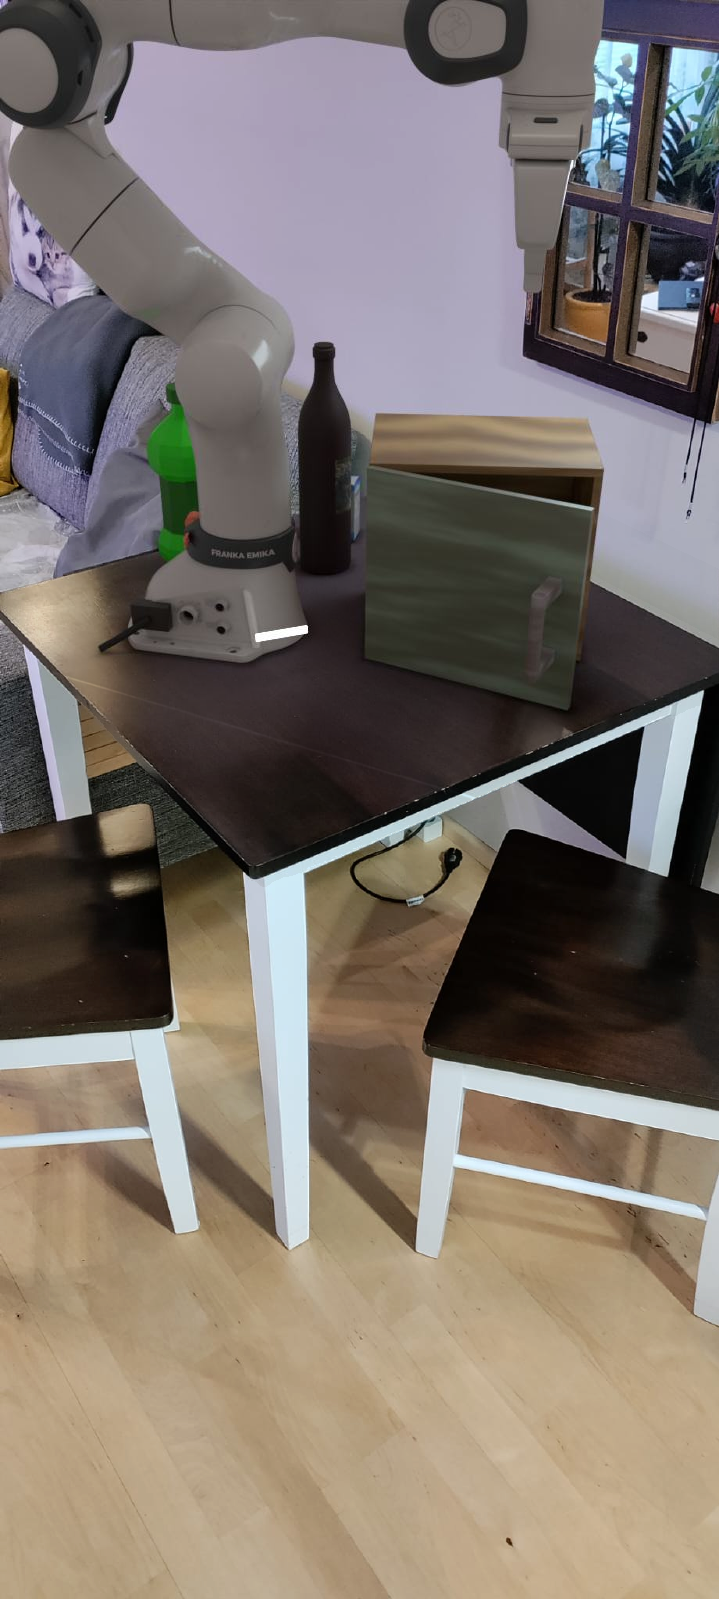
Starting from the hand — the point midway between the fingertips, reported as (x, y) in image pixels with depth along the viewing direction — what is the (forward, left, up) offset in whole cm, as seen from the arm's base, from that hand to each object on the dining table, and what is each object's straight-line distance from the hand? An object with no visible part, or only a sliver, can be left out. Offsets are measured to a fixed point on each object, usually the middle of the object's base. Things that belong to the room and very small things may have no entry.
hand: (533, 280), depth 124 cm
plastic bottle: (-42, +23, -43) cm, 64 cm away
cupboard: (-4, +8, -43) cm, 44 cm away
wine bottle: (-24, +25, -43) cm, 55 cm away
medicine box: (-24, +36, -43) cm, 61 cm away
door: (-6, -10, -43) cm, 44 cm away
